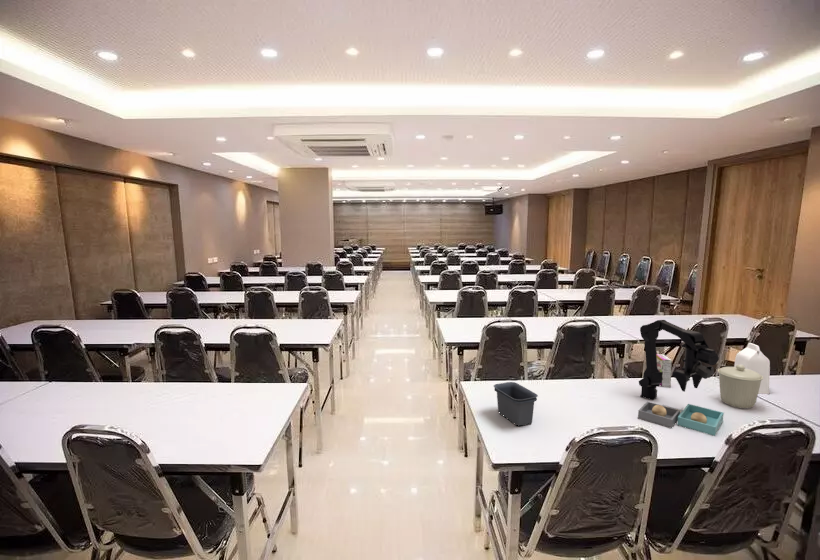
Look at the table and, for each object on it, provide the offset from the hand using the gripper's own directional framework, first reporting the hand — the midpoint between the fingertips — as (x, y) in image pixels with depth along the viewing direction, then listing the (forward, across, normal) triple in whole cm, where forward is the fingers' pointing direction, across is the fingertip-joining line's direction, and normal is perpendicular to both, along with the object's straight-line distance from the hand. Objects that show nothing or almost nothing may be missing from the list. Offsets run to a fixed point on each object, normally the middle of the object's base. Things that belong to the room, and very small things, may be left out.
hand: (689, 389), depth 192 cm
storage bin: (+14, -76, +34) cm, 84 cm away
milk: (+14, +63, +5) cm, 65 cm away
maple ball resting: (+10, -7, -9) cm, 15 cm away
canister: (+14, +36, -3) cm, 38 cm away
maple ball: (+10, -15, +4) cm, 18 cm away
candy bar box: (+14, +28, +32) cm, 44 cm away
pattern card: (+13, -1, +7) cm, 15 cm away
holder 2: (+13, -2, -7) cm, 15 cm away
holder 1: (+13, -15, +4) cm, 20 cm away
